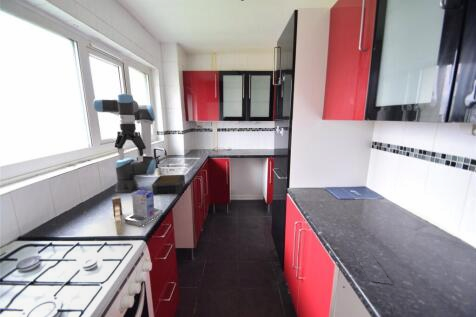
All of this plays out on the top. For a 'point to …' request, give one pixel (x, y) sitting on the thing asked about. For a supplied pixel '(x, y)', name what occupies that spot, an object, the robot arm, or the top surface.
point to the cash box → (168, 184)
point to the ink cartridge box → (143, 202)
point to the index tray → (142, 218)
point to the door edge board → (117, 213)
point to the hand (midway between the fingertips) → (131, 160)
